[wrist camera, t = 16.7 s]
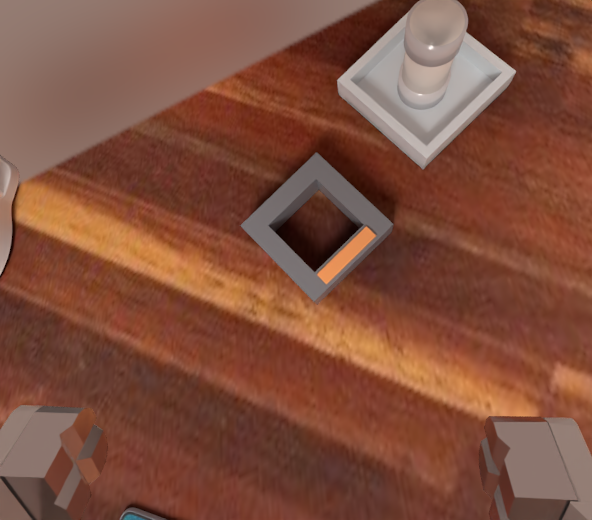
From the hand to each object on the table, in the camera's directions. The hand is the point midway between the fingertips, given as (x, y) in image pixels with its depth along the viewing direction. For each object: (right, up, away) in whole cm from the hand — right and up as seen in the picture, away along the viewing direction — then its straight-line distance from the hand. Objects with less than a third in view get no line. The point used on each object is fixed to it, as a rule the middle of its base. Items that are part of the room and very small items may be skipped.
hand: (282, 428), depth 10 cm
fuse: (+10, +17, +29) cm, 35 cm away
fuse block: (+2, +6, +28) cm, 29 cm away
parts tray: (+10, +17, +29) cm, 35 cm away
